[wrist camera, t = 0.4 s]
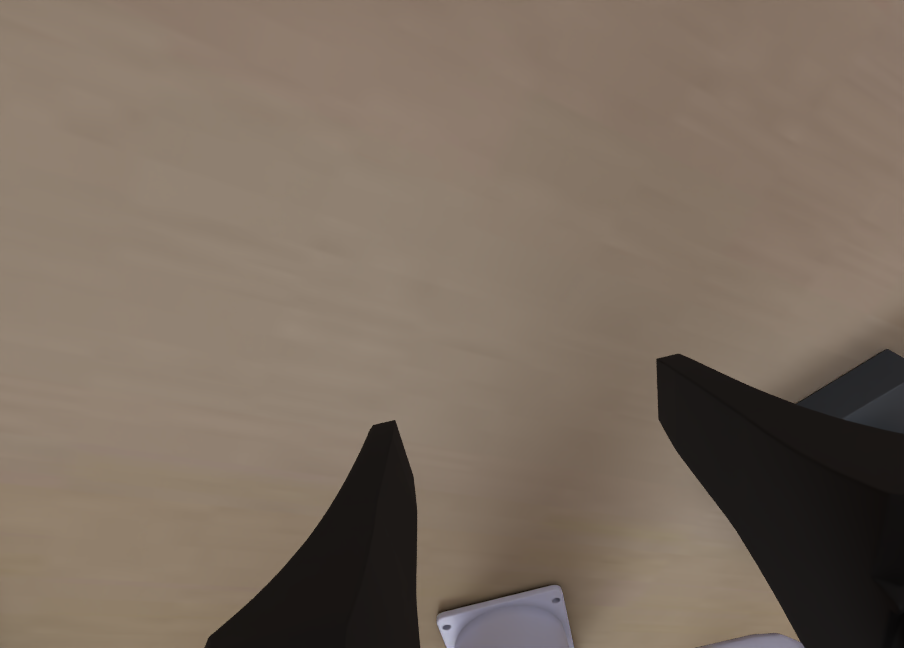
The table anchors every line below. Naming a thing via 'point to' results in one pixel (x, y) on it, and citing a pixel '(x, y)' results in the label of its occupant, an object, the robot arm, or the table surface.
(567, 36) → the table surface
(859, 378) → the grey button base
